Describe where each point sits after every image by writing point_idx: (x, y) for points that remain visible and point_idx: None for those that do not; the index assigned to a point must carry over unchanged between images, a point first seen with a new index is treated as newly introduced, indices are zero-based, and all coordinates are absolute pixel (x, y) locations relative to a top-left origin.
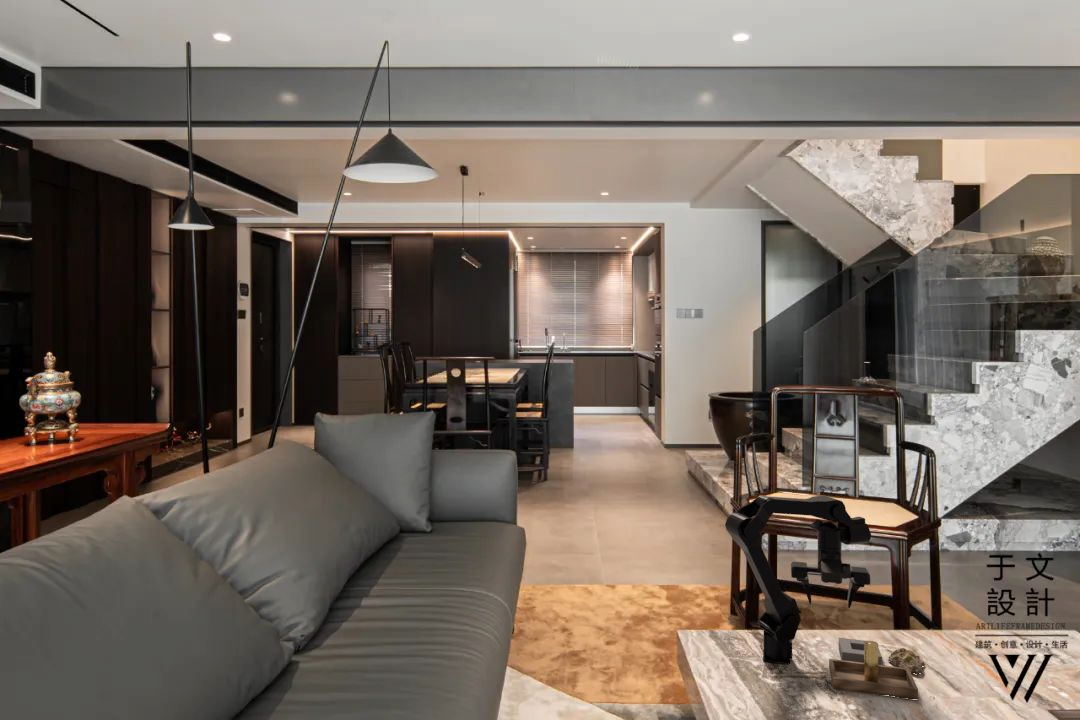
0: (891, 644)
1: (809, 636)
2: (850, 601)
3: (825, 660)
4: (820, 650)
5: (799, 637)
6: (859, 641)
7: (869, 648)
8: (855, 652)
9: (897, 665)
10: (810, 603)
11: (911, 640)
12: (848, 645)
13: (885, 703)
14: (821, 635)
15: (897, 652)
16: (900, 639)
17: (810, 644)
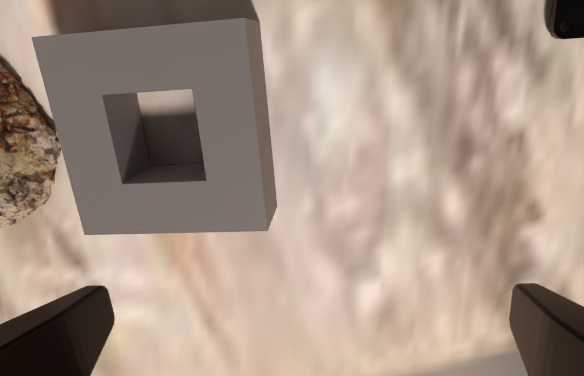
0: None
1: (408, 304)
2: (17, 322)
3: (344, 34)
4: (364, 158)
5: (459, 280)
6: (161, 211)
7: None
8: (170, 43)
9: (4, 76)
10: (527, 286)
11: None
12: (213, 136)
13: None
14: (351, 328)
15: (6, 187)
16: None
17: (410, 215)
